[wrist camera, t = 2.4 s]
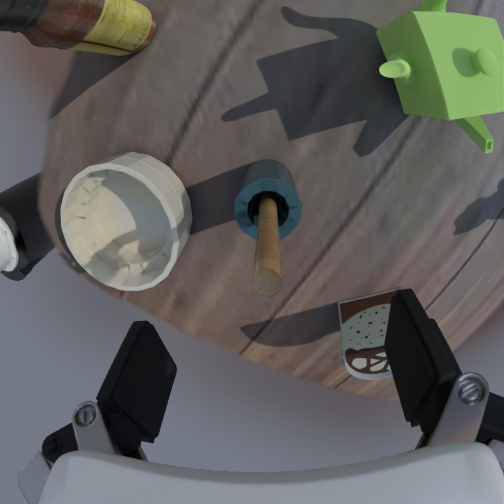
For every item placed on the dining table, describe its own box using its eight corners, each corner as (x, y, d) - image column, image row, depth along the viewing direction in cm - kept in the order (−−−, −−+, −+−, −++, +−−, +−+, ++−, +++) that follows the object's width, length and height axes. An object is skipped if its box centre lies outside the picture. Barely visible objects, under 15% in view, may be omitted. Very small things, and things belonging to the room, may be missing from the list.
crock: (233, 189, 29) (221, 218, 22) (261, 149, 27) (259, 165, 20) (274, 215, 30) (275, 252, 23) (302, 178, 28) (315, 204, 21)
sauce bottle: (152, 0, 18) (30, -69, 1) (165, 42, 21) (25, -10, 4) (102, 26, 19) (-37, 3, 2) (112, 68, 22) (-41, 70, 5)
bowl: (77, 227, 32) (52, 248, 27) (111, 130, 26) (81, 138, 21) (163, 281, 35) (148, 310, 30) (216, 192, 29) (205, 213, 24)
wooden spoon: (263, 198, 29) (257, 308, 14) (258, 174, 27) (247, 264, 13) (277, 195, 28) (285, 304, 14) (272, 171, 27) (277, 260, 12)
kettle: (341, 82, 23) (385, 70, 13) (383, -12, 16) (430, -50, 6) (448, 152, 25) (512, 181, 15) (481, 63, 18) (544, 65, 8)
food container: (330, 335, 39) (341, 391, 30) (326, 304, 36) (339, 363, 27) (407, 316, 37) (430, 366, 28) (410, 284, 34) (440, 335, 25)
